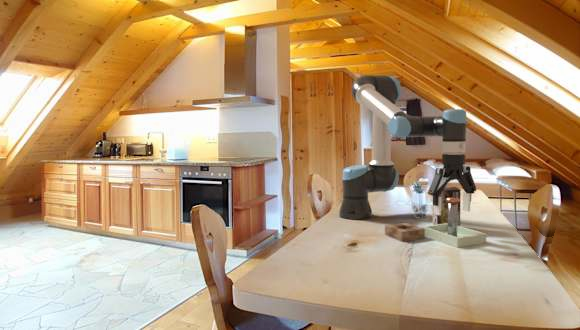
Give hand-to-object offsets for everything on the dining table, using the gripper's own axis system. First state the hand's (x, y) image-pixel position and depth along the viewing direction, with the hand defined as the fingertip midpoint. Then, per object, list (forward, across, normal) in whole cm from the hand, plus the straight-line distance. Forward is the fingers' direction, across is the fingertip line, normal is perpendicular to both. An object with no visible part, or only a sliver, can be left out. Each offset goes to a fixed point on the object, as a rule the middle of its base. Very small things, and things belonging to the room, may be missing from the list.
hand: (452, 212), depth 130 cm
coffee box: (+10, +10, +12) cm, 18 cm away
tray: (+9, 0, 0) cm, 9 cm away
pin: (+9, 0, 0) cm, 9 cm away
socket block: (+9, -14, +9) cm, 19 cm away
